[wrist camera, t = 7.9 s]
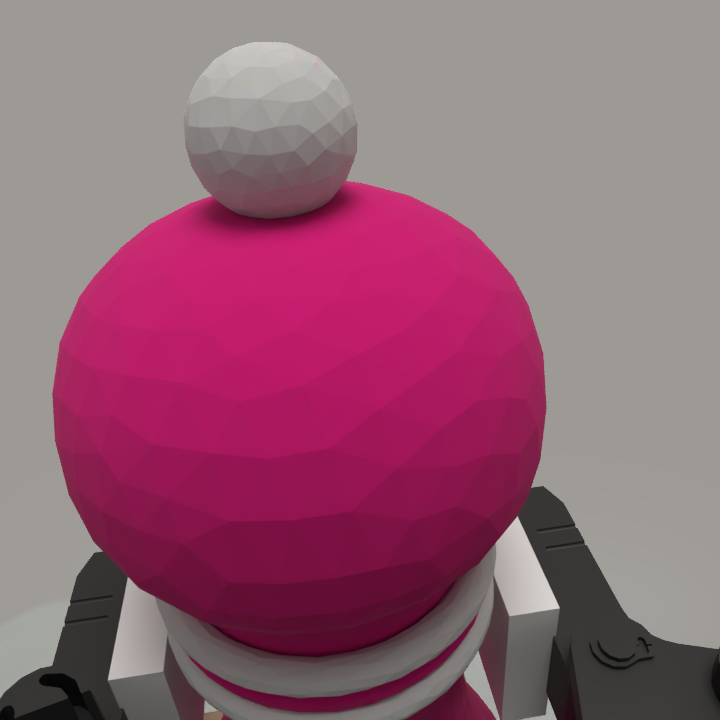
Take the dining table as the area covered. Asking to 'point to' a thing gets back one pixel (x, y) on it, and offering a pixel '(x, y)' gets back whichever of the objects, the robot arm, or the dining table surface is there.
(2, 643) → the dining table surface
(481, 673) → the dining table surface
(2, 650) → the dining table surface
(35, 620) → the dining table surface
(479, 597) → the pepper mill
